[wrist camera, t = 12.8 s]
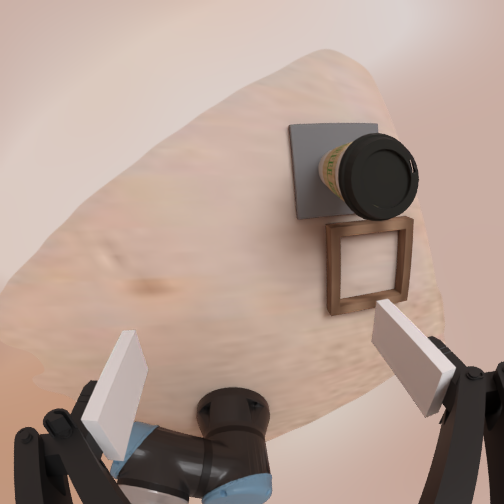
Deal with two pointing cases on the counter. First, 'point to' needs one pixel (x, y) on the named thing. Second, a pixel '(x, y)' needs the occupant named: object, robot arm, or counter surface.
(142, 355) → the robot arm
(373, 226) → the walnut collar
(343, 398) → the counter surface
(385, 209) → the coffee cup
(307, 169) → the trivet mat
